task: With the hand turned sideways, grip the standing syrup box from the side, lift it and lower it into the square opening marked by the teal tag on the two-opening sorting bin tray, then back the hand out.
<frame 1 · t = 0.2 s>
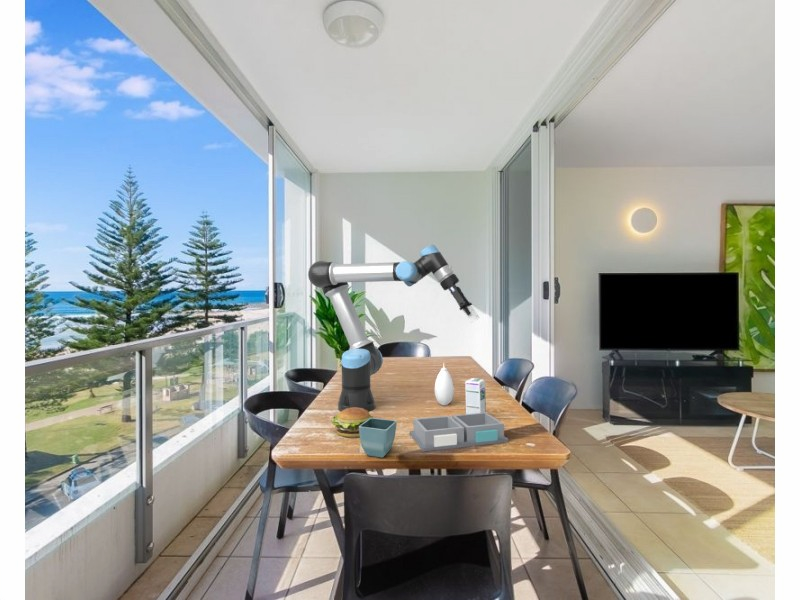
hand: (475, 320, 162), 35 cm above the table, tool tilted 35°, fingers open, 13 cm apart
flower pot: (378, 454, 115), on the table
food: (352, 433, 134), on the table
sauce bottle: (444, 405, 165), on the table
sorting bin tray: (457, 437, 127), on the table
syrup box: (475, 419, 147), on the table
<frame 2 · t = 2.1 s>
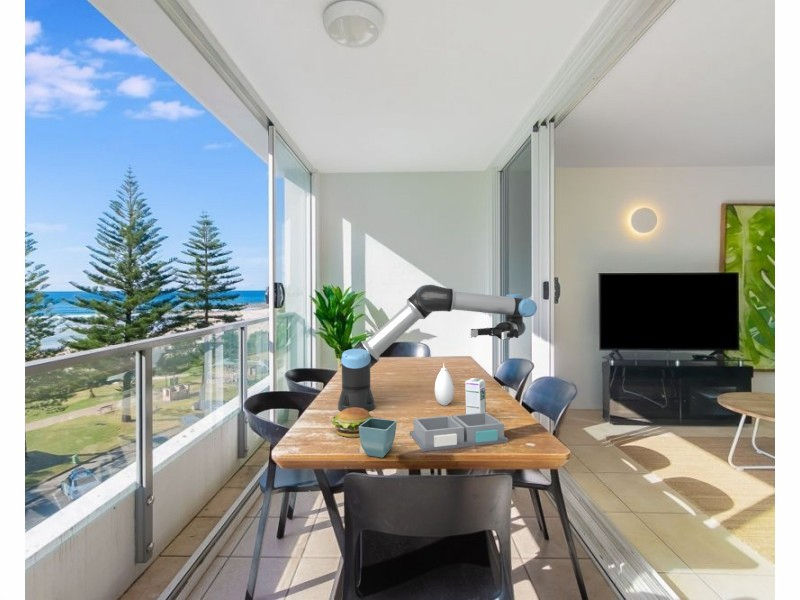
hand: (485, 335, 154), 30 cm above the table, tool horizontal, fingers open, 13 cm apart
nothing on the table moved.
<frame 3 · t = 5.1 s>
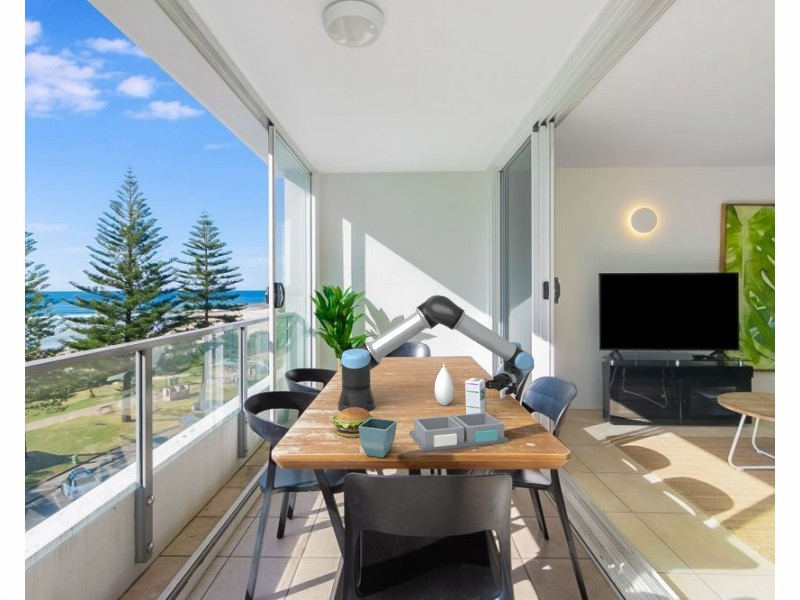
hand: (483, 391, 151), 9 cm above the table, tool horizontal, fingers open, 13 cm apart
nothing on the table moved.
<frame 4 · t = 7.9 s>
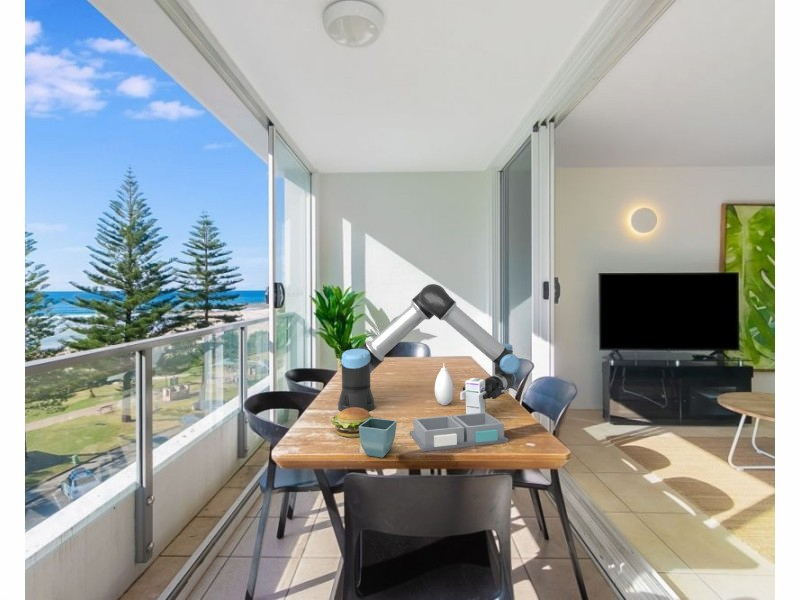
hand: (469, 397, 142), 9 cm above the table, tool horizontal, fingers closed on syrup box, 6 cm apart
syrup box: (475, 419, 147), on the table, touching gripper
everything else where it was.
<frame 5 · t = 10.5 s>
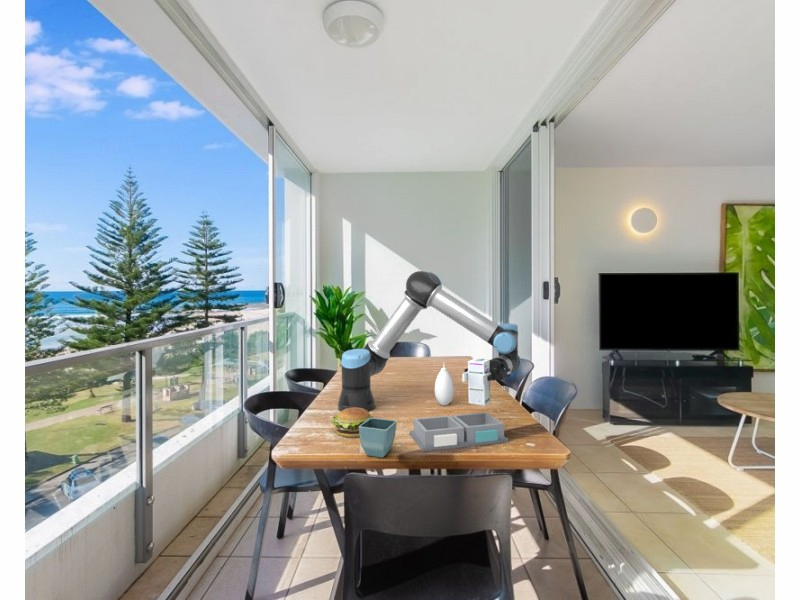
hand: (472, 378, 128), 19 cm above the table, tool horizontal, fingers closed on syrup box, 6 cm apart
syrup box: (479, 403, 133), point 10 cm above the table, touching gripper
everything else where it was.
when the fingers open (11 cm above the table, at t = 13.4 s): syrup box drops 1 cm, resting on sorting bin tray.
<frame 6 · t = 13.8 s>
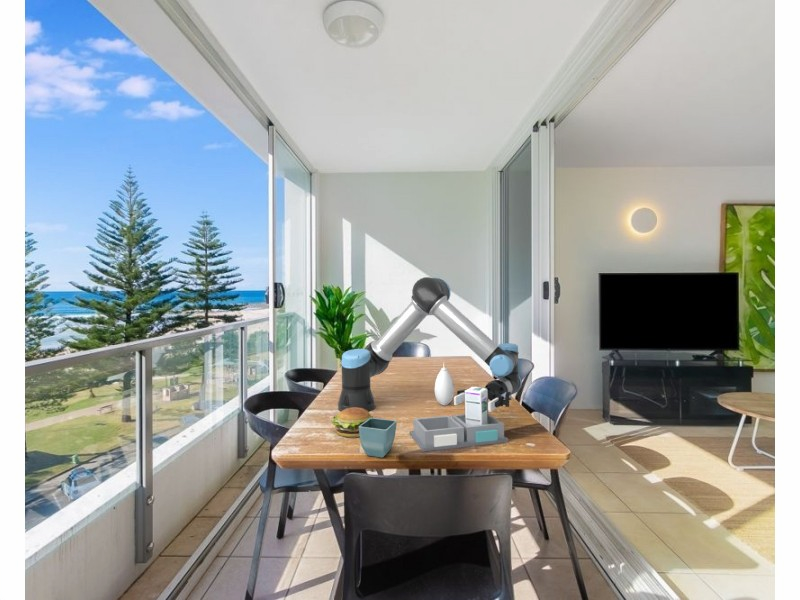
hand: (471, 403, 125), 11 cm above the table, tool horizontal, fingers open, 11 cm apart
syrup box: (476, 433, 129), point 1 cm above the table, touching sorting bin tray
everything else where it was.
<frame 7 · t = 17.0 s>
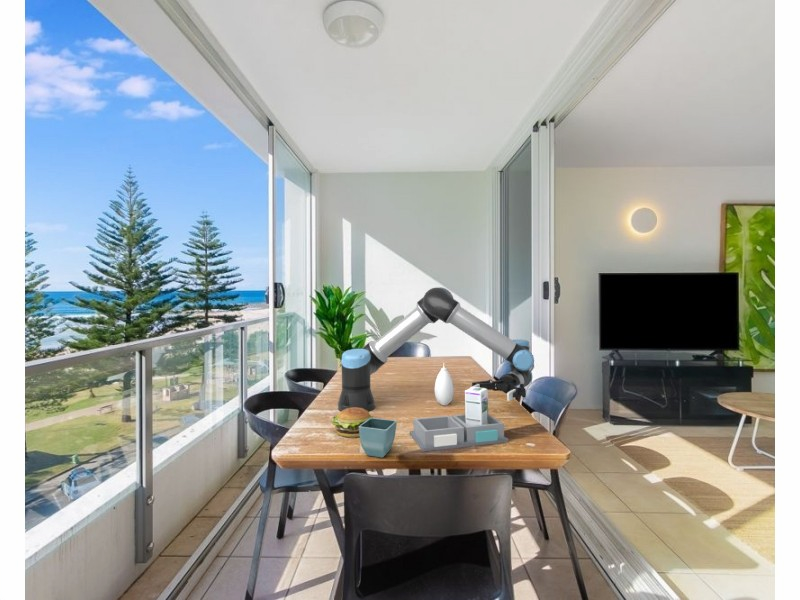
hand: (488, 394, 136), 12 cm above the table, tool horizontal, fingers open, 13 cm apart
nothing on the table moved.
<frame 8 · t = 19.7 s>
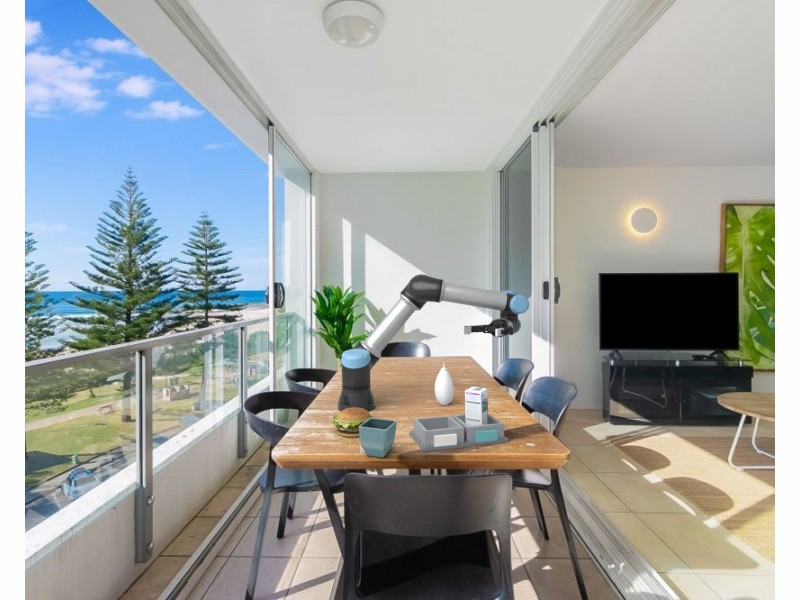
hand: (479, 332, 149), 32 cm above the table, tool horizontal, fingers open, 13 cm apart
nothing on the table moved.
at the end: syrup box 0.2 cm from the target spot on the sorting bin tray, point 0.8 cm above the sorting bin tray's base; syrup box tilted 0°; the gripper is holding nothing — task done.
